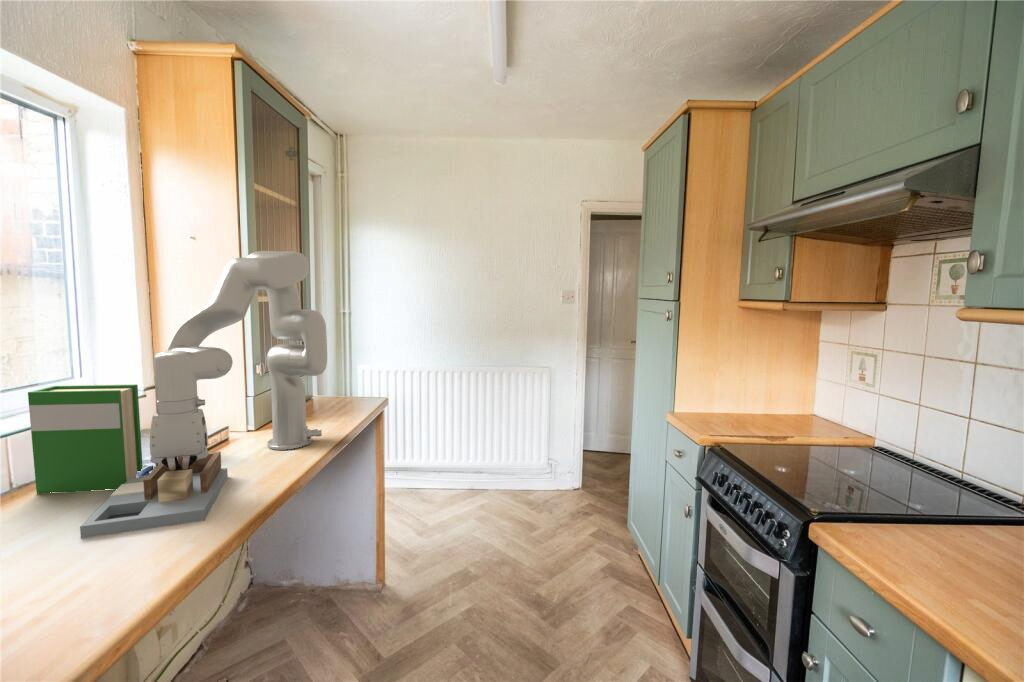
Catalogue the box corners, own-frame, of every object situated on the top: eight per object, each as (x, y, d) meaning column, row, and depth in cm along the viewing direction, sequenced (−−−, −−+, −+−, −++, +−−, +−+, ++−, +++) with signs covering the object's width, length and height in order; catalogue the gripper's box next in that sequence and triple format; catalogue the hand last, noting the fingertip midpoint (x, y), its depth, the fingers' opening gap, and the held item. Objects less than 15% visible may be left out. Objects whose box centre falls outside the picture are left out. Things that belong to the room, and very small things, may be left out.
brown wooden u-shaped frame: (221, 468, 115) (220, 451, 114) (207, 492, 101) (206, 473, 101) (167, 474, 110) (166, 456, 110) (144, 500, 97) (143, 480, 96)
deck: (227, 476, 116) (227, 466, 115) (204, 520, 93) (204, 507, 93) (130, 488, 108) (129, 476, 108) (80, 538, 86) (79, 524, 86)
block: (193, 490, 102) (192, 468, 102) (186, 499, 97) (185, 477, 97) (166, 493, 100) (165, 471, 100) (158, 503, 96) (157, 480, 95)
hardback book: (143, 477, 114) (137, 384, 112) (124, 489, 107) (117, 390, 105) (61, 481, 111) (53, 385, 108) (36, 494, 104) (27, 392, 101)
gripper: (220, 400, 107) (223, 474, 109) (142, 404, 101) (147, 482, 103) (212, 407, 100) (216, 486, 102) (129, 412, 94) (134, 496, 96)
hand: (181, 484), depth 102 cm, fingers closed
